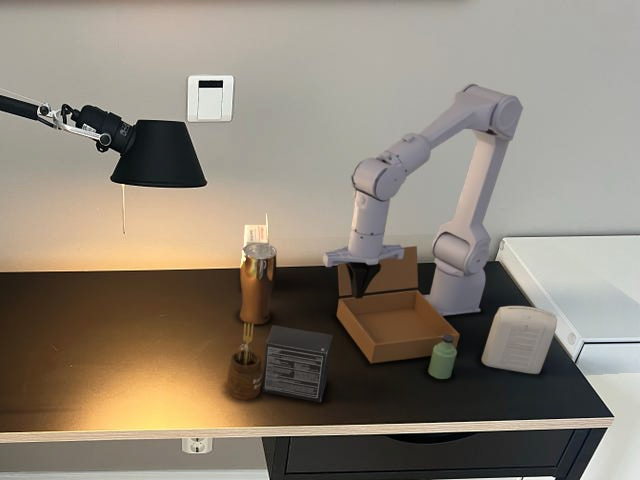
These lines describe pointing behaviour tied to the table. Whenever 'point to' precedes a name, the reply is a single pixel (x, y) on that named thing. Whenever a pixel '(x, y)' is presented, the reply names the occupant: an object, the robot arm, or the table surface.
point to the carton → (394, 325)
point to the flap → (386, 274)
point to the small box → (296, 363)
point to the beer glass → (257, 281)
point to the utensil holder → (245, 371)
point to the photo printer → (519, 339)
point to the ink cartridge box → (256, 233)
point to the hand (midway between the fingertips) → (356, 295)
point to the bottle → (443, 358)
